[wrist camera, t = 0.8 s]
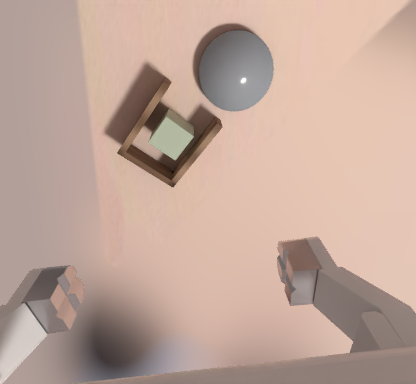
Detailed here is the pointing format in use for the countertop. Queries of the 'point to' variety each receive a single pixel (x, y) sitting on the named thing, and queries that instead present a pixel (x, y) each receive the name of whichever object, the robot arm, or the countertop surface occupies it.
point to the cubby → (150, 163)
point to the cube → (172, 134)
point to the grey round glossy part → (236, 70)
